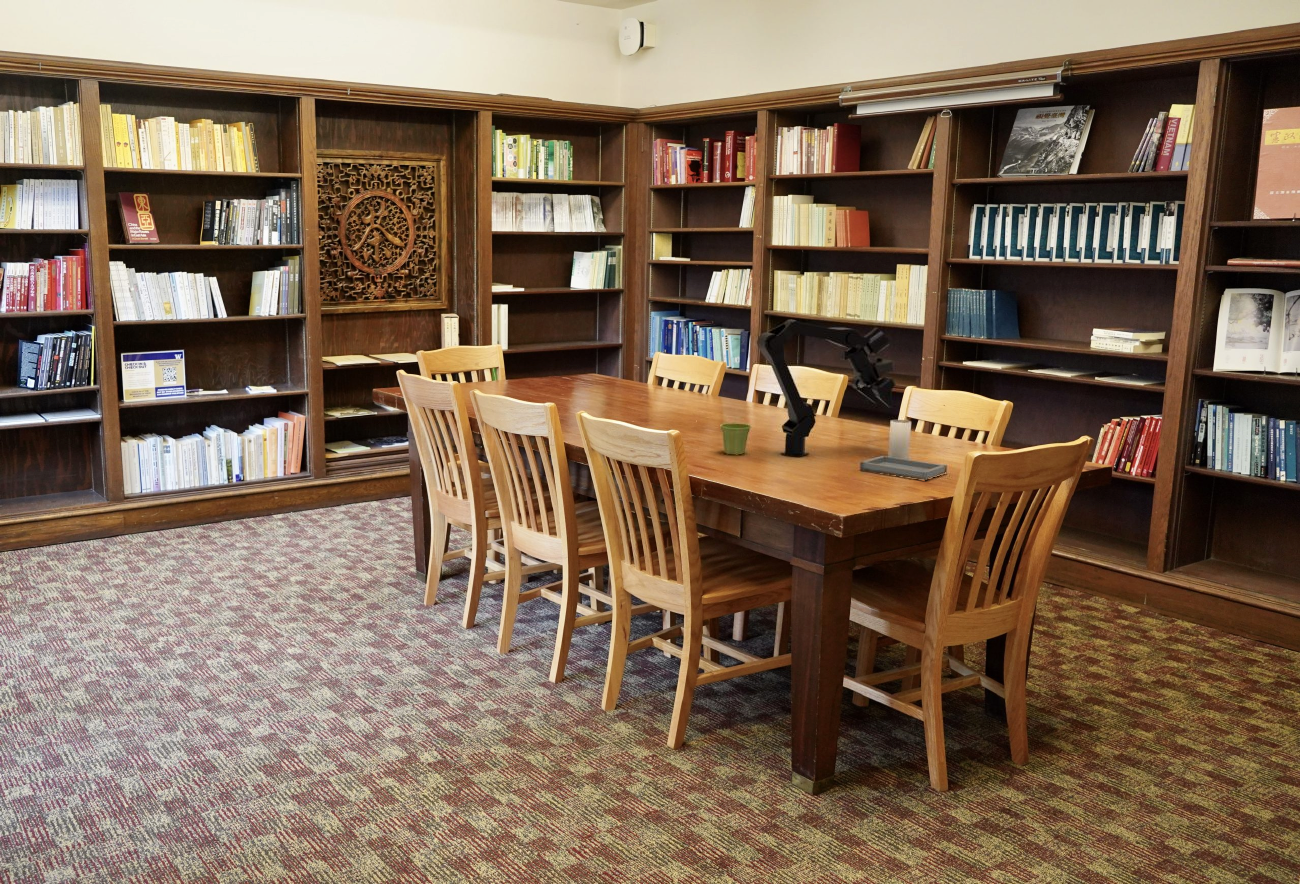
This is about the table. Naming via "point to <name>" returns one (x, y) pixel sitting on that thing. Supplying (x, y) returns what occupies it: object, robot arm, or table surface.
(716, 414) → the table surface
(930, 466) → the tray
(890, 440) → the pencil cup
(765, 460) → the table surface
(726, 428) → the plant pot
